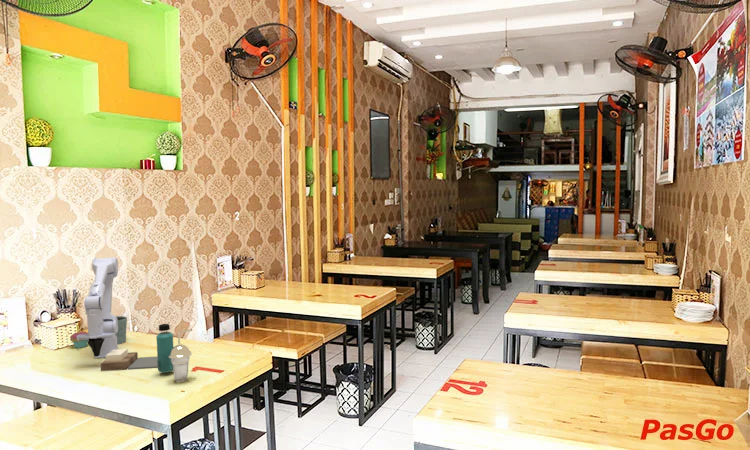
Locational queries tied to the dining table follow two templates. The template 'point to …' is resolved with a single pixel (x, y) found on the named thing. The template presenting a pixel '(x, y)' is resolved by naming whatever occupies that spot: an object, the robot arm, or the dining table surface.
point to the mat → (144, 363)
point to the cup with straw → (180, 360)
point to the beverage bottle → (164, 348)
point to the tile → (117, 355)
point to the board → (120, 363)
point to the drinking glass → (121, 329)
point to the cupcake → (78, 342)
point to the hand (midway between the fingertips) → (97, 355)
